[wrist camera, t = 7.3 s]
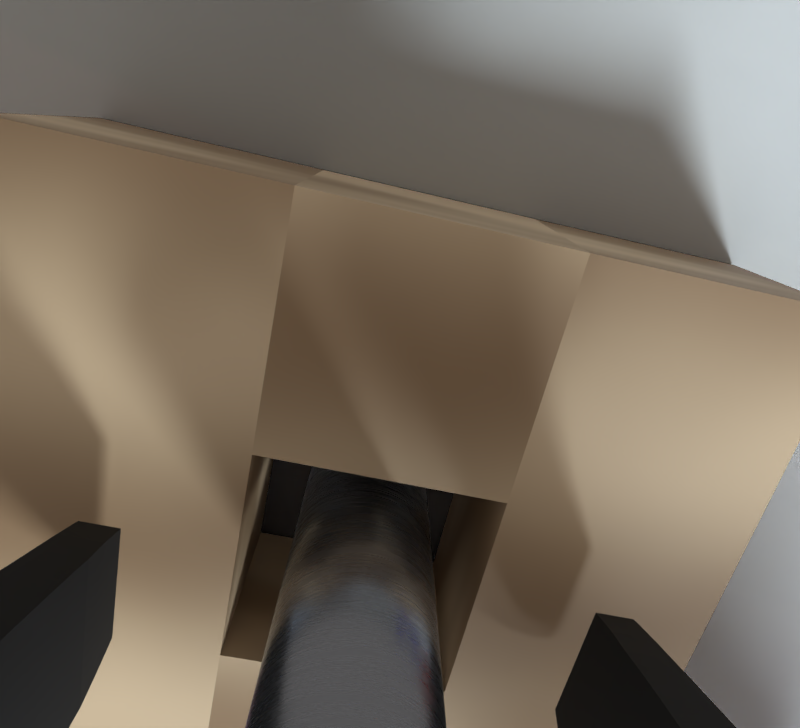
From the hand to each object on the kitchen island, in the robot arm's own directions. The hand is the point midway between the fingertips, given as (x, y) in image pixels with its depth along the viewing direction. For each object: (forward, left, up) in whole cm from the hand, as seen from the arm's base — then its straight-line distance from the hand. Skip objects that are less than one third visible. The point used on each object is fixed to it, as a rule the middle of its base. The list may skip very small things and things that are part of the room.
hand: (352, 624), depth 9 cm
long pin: (0, 0, -4) cm, 4 cm away
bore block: (0, 0, -4) cm, 4 cm away
